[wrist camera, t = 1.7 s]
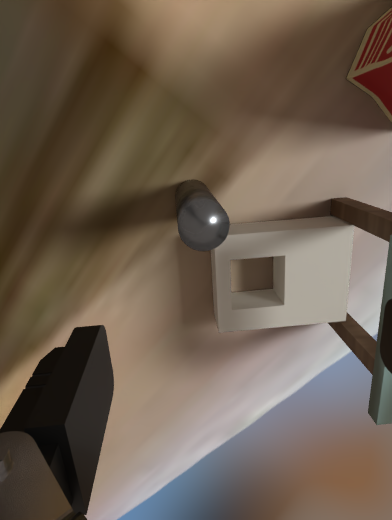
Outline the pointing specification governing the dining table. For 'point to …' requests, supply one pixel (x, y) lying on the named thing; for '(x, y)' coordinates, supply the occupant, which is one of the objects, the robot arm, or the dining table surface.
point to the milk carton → (376, 63)
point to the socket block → (285, 273)
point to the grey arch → (356, 338)
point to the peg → (200, 216)
